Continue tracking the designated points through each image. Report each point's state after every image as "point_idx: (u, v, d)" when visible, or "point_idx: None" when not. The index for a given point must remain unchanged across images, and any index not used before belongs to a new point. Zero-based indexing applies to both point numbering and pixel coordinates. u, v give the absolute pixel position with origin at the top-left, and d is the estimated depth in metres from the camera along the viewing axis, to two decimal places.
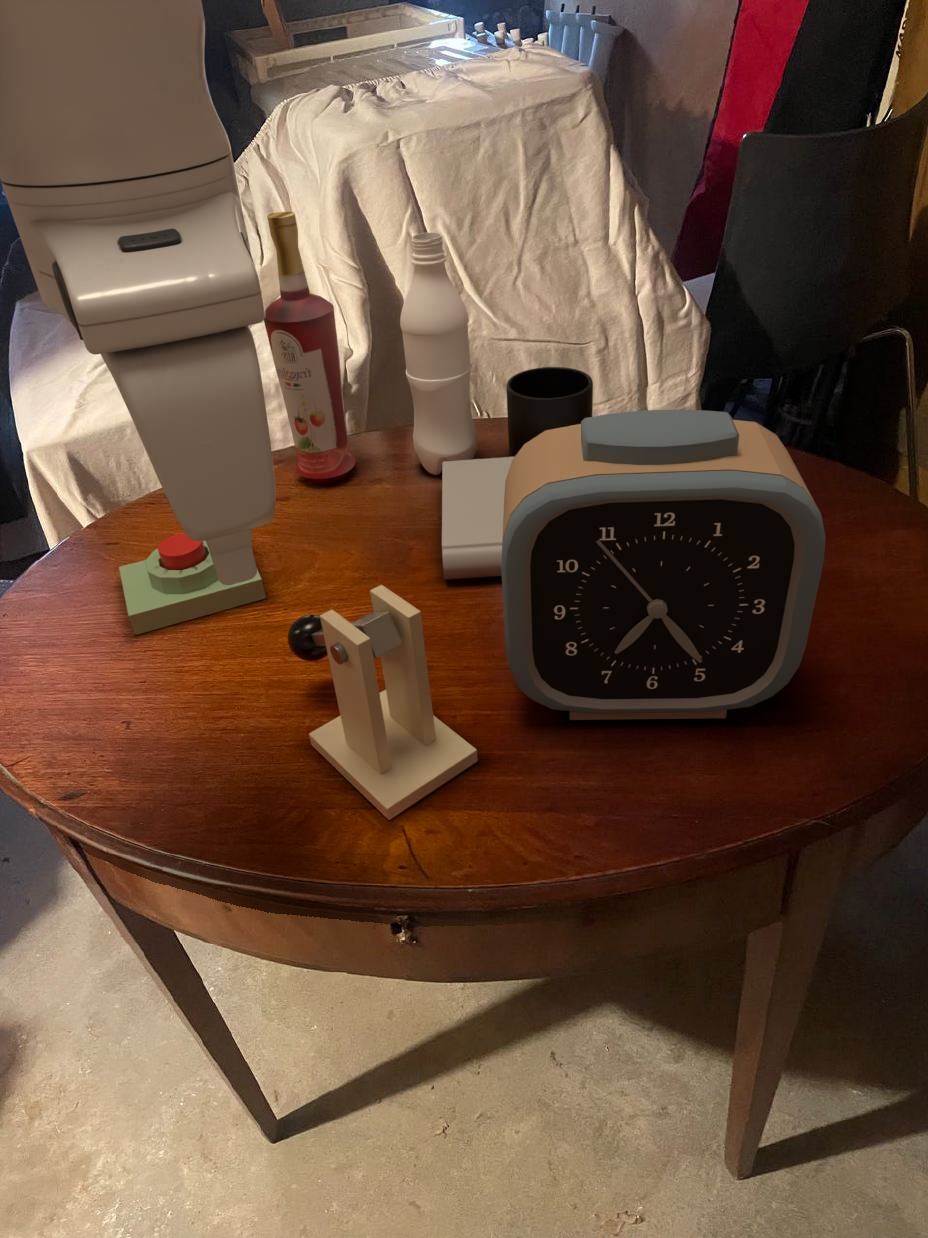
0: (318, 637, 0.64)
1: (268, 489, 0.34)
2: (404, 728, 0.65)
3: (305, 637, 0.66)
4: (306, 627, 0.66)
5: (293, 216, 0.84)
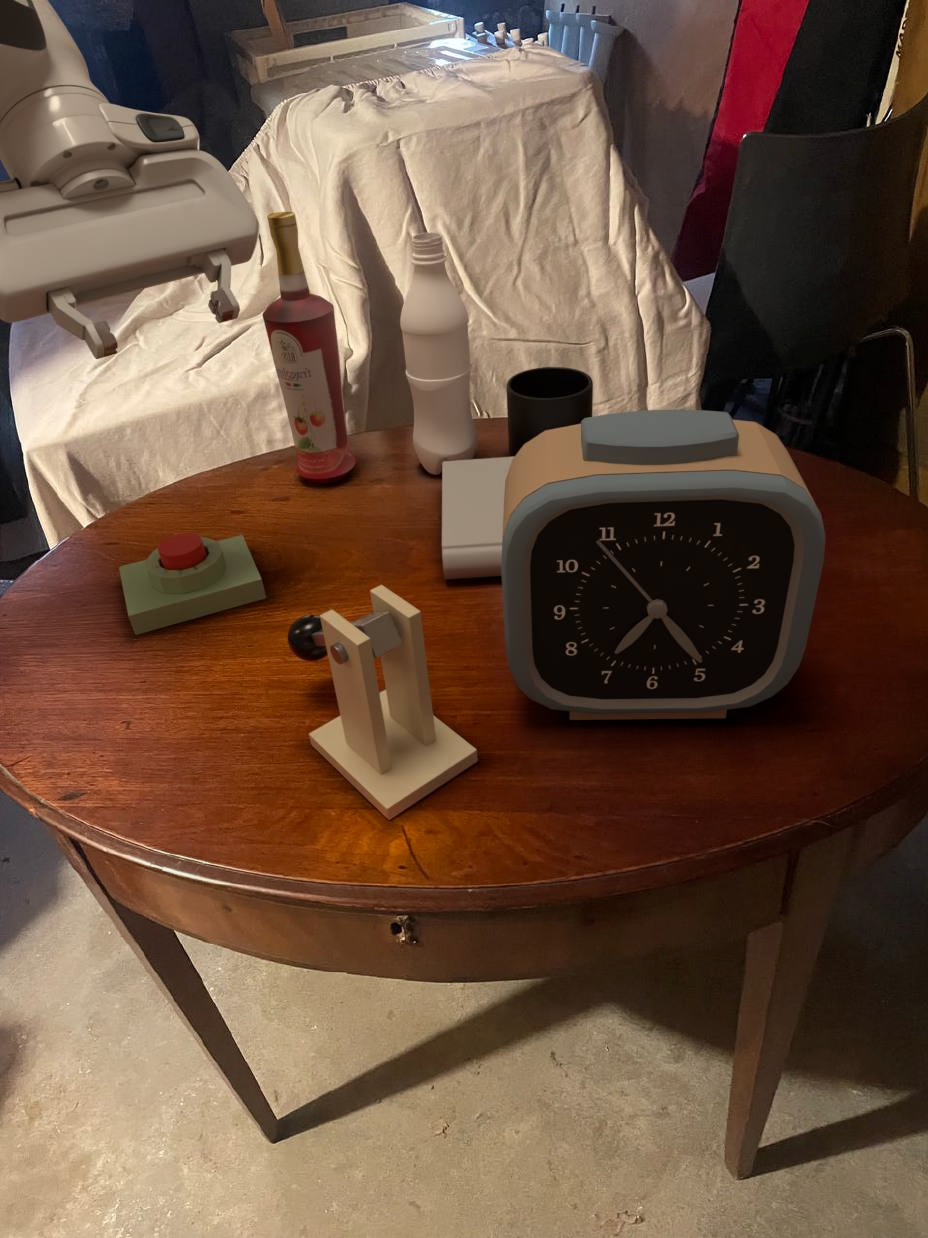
0: (318, 637, 0.64)
1: None
2: (404, 728, 0.65)
3: (305, 637, 0.66)
4: (306, 627, 0.66)
5: (293, 216, 0.84)
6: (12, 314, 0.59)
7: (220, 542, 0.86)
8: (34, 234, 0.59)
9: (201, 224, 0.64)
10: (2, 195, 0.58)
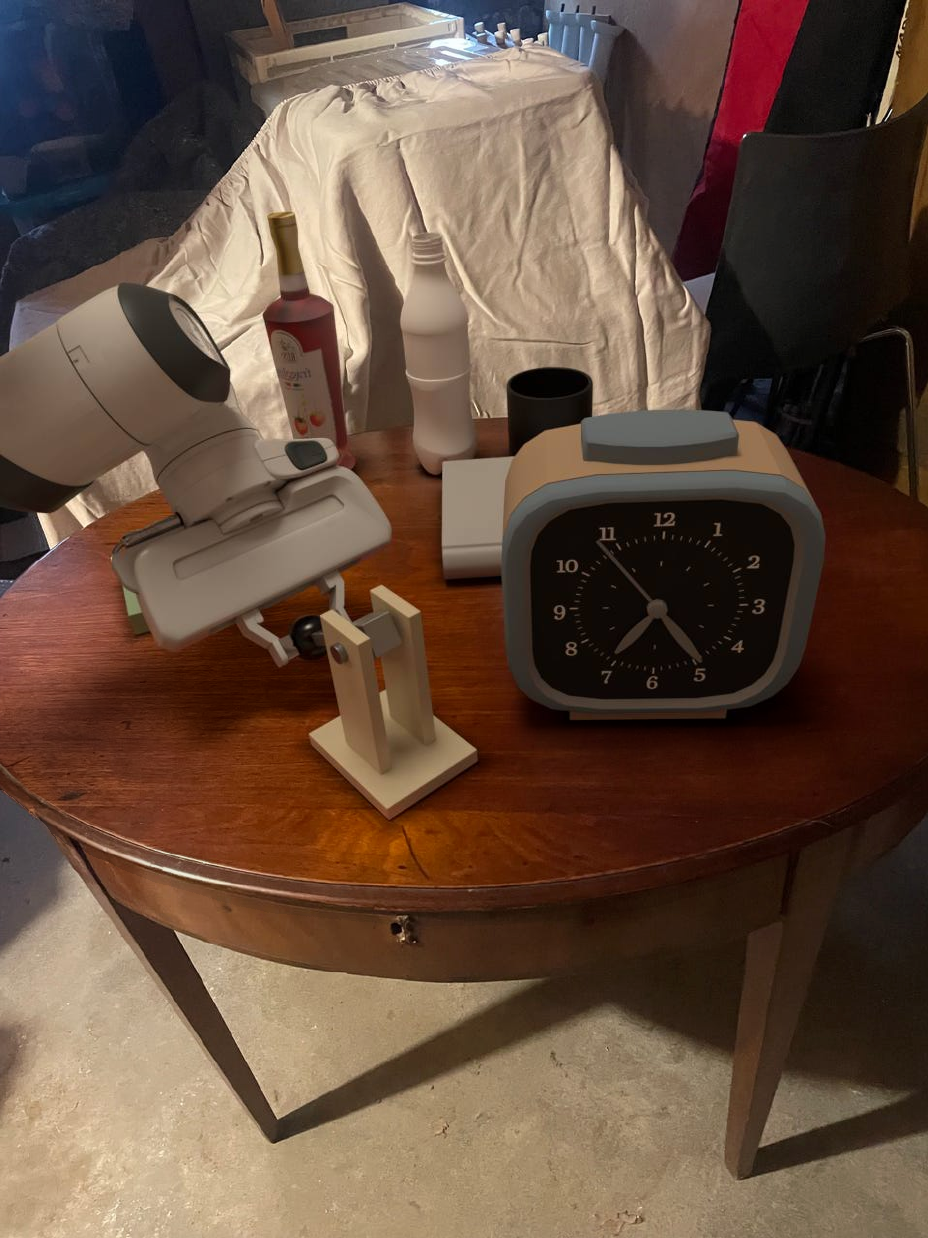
0: (318, 637, 0.64)
1: None
2: (404, 728, 0.65)
3: (305, 637, 0.66)
4: (306, 627, 0.66)
5: (293, 216, 0.84)
6: (179, 648, 0.63)
7: None
8: (200, 574, 0.63)
9: (343, 539, 0.69)
10: (170, 540, 0.63)
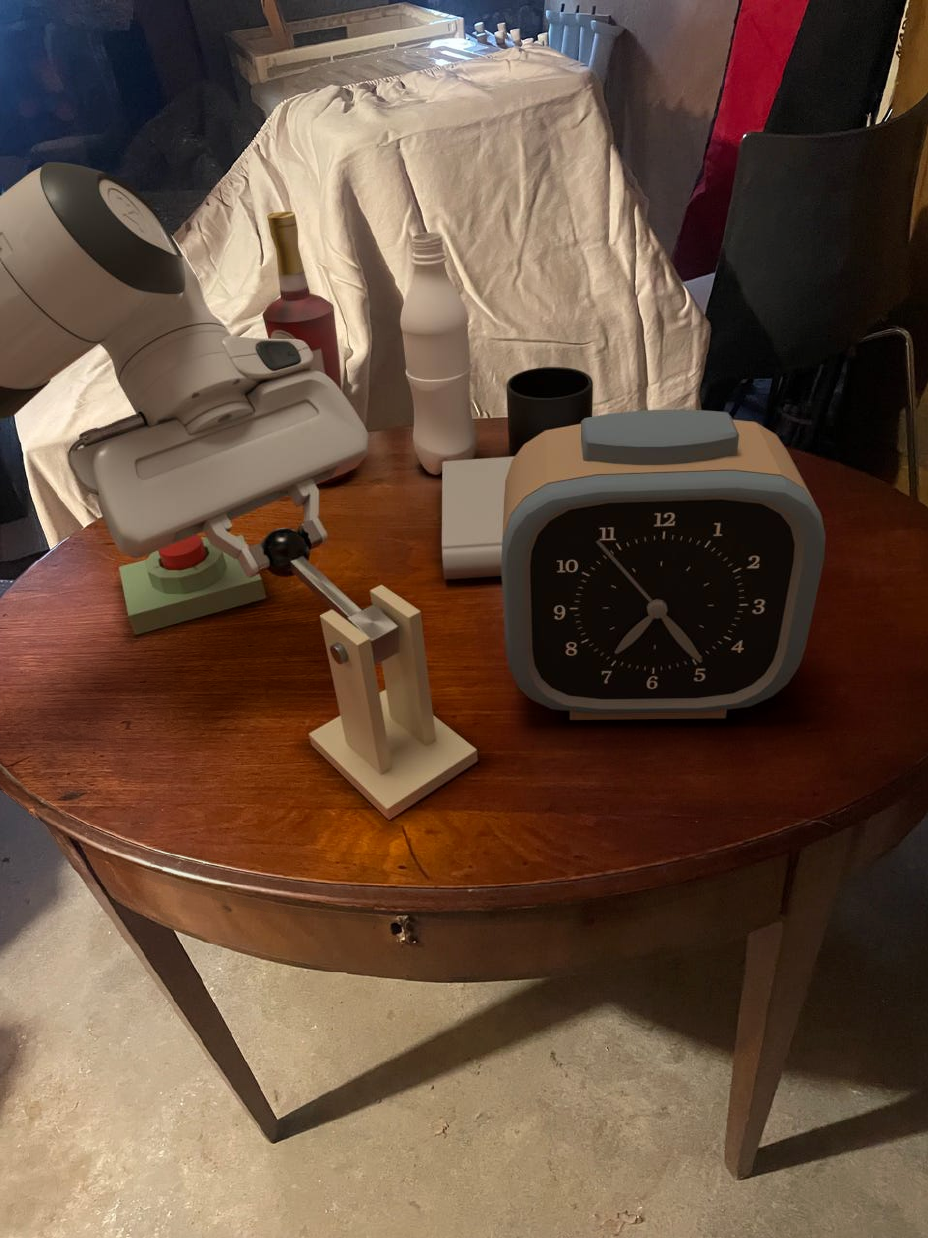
0: (299, 572, 0.62)
1: None
2: (404, 728, 0.65)
3: (283, 562, 0.62)
4: (287, 552, 0.62)
5: (293, 216, 0.84)
6: (141, 553, 0.60)
7: None
8: (164, 475, 0.60)
9: (317, 446, 0.65)
10: (132, 437, 0.59)
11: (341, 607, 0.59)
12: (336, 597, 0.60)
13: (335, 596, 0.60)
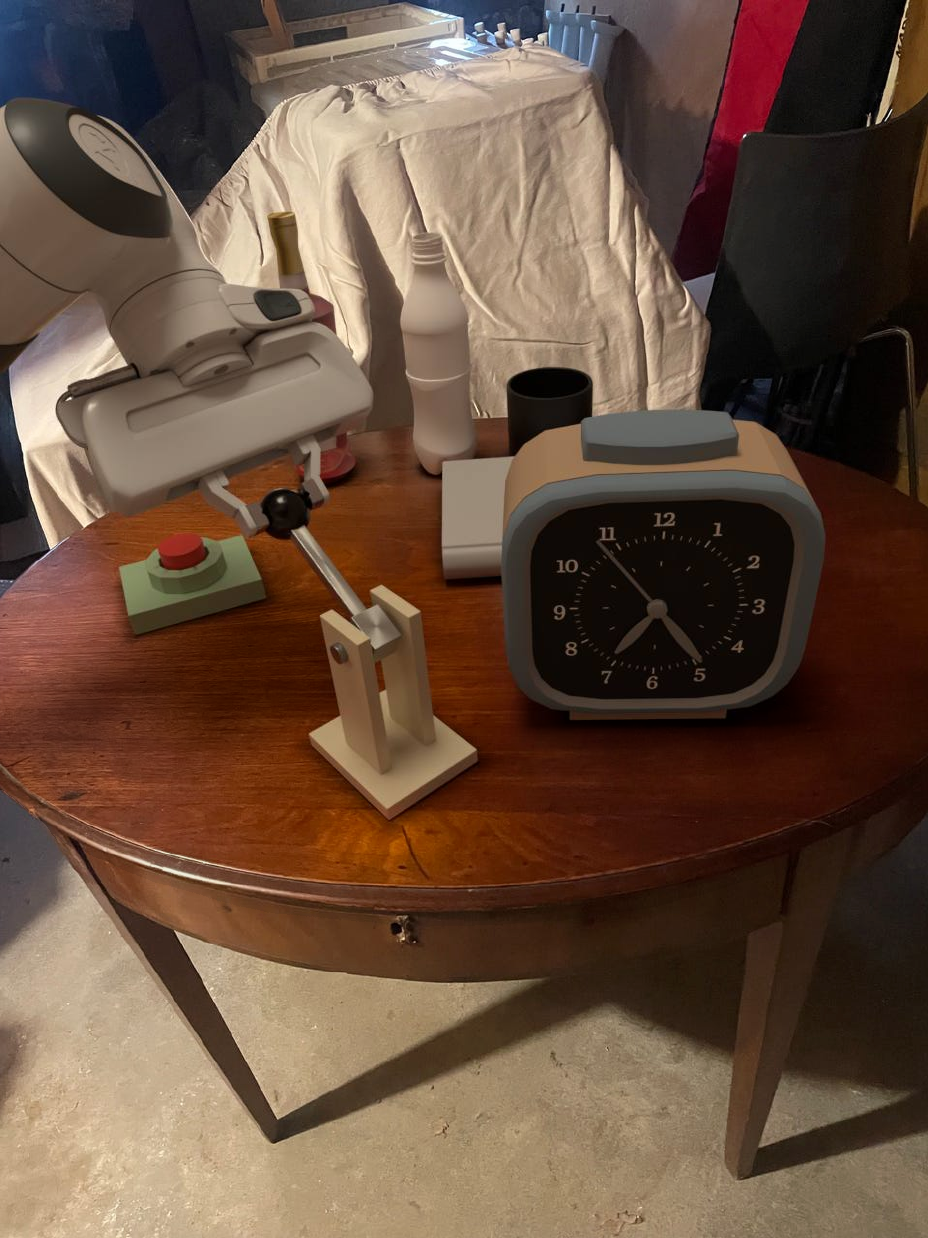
0: (300, 545, 0.60)
1: None
2: (404, 728, 0.65)
3: (283, 530, 0.60)
4: (290, 521, 0.59)
5: (293, 216, 0.84)
6: (133, 511, 0.57)
7: (220, 542, 0.86)
8: (156, 428, 0.56)
9: (319, 401, 0.62)
10: (123, 388, 0.56)
11: (343, 598, 0.58)
12: (338, 585, 0.59)
13: (337, 583, 0.59)
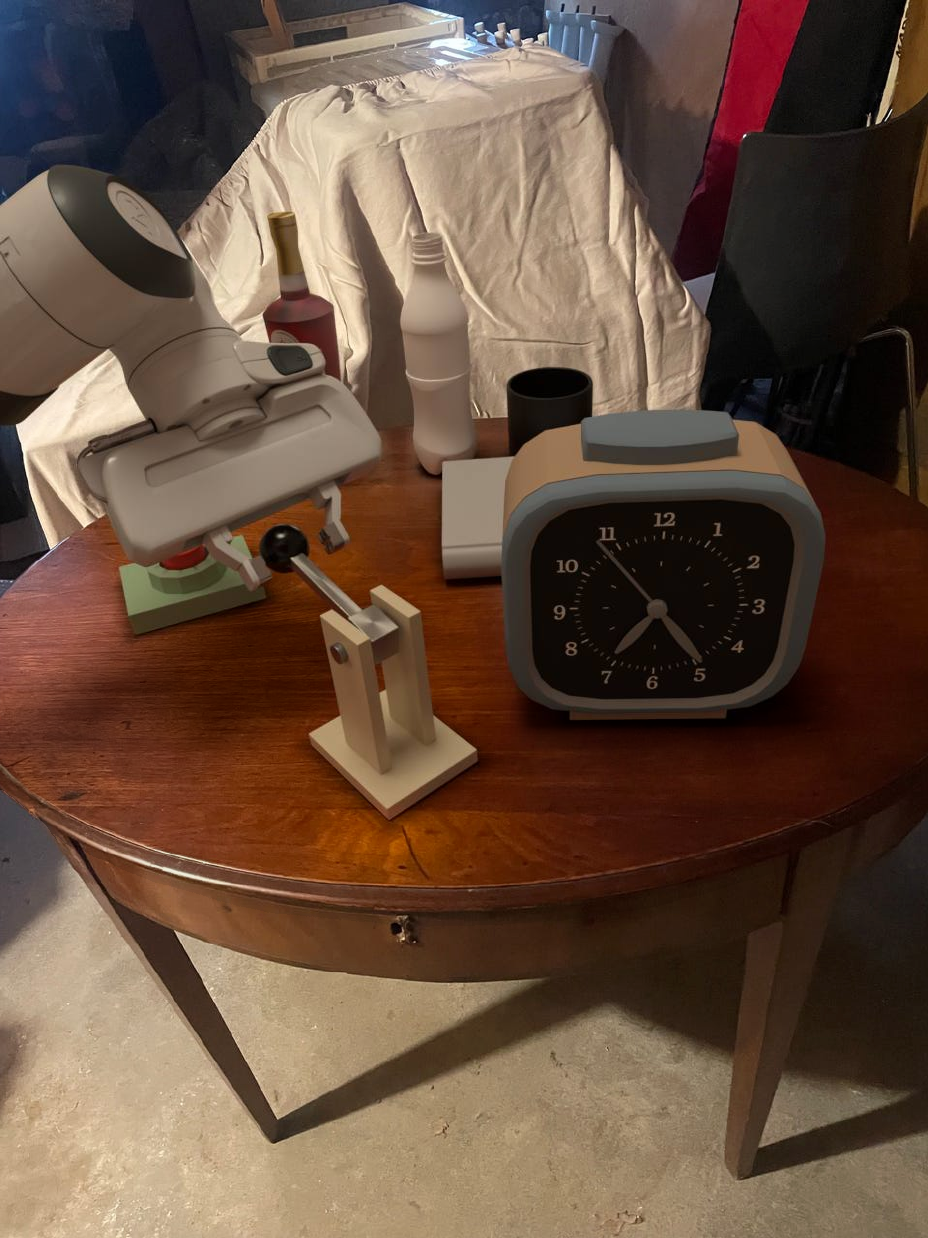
0: (299, 570, 0.62)
1: None
2: (404, 728, 0.65)
3: (283, 559, 0.62)
4: (287, 549, 0.62)
5: (293, 216, 0.84)
6: (151, 562, 0.59)
7: None
8: (173, 482, 0.58)
9: (329, 452, 0.64)
10: (142, 444, 0.58)
11: (341, 606, 0.59)
12: (336, 596, 0.60)
13: (335, 595, 0.60)
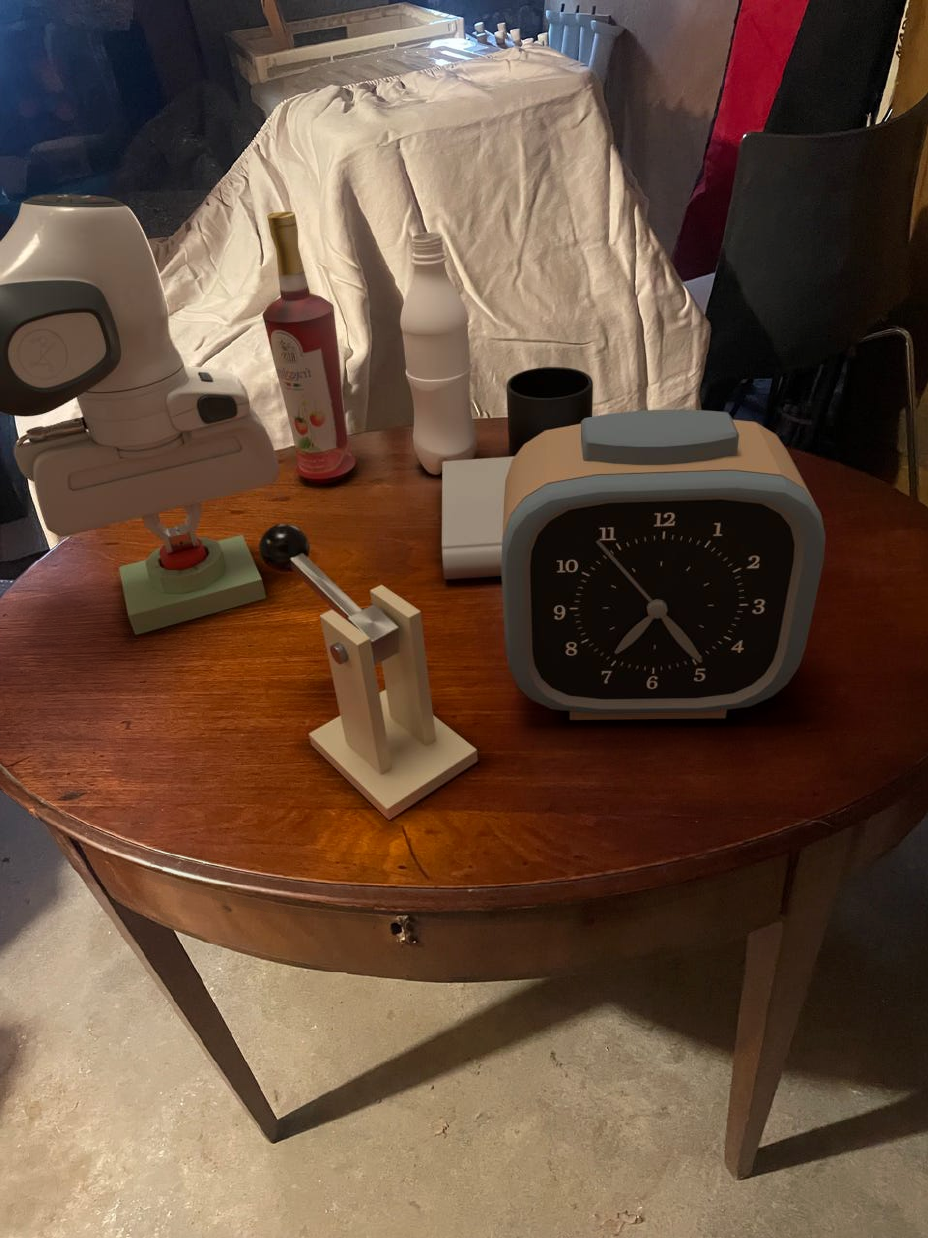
0: (299, 570, 0.62)
1: None
2: (404, 728, 0.65)
3: (283, 559, 0.62)
4: (287, 549, 0.62)
5: (293, 216, 0.84)
6: None
7: (220, 542, 0.86)
8: (90, 488, 0.73)
9: (230, 478, 0.77)
10: (70, 455, 0.71)
11: (341, 606, 0.59)
12: (336, 596, 0.60)
13: (335, 595, 0.60)
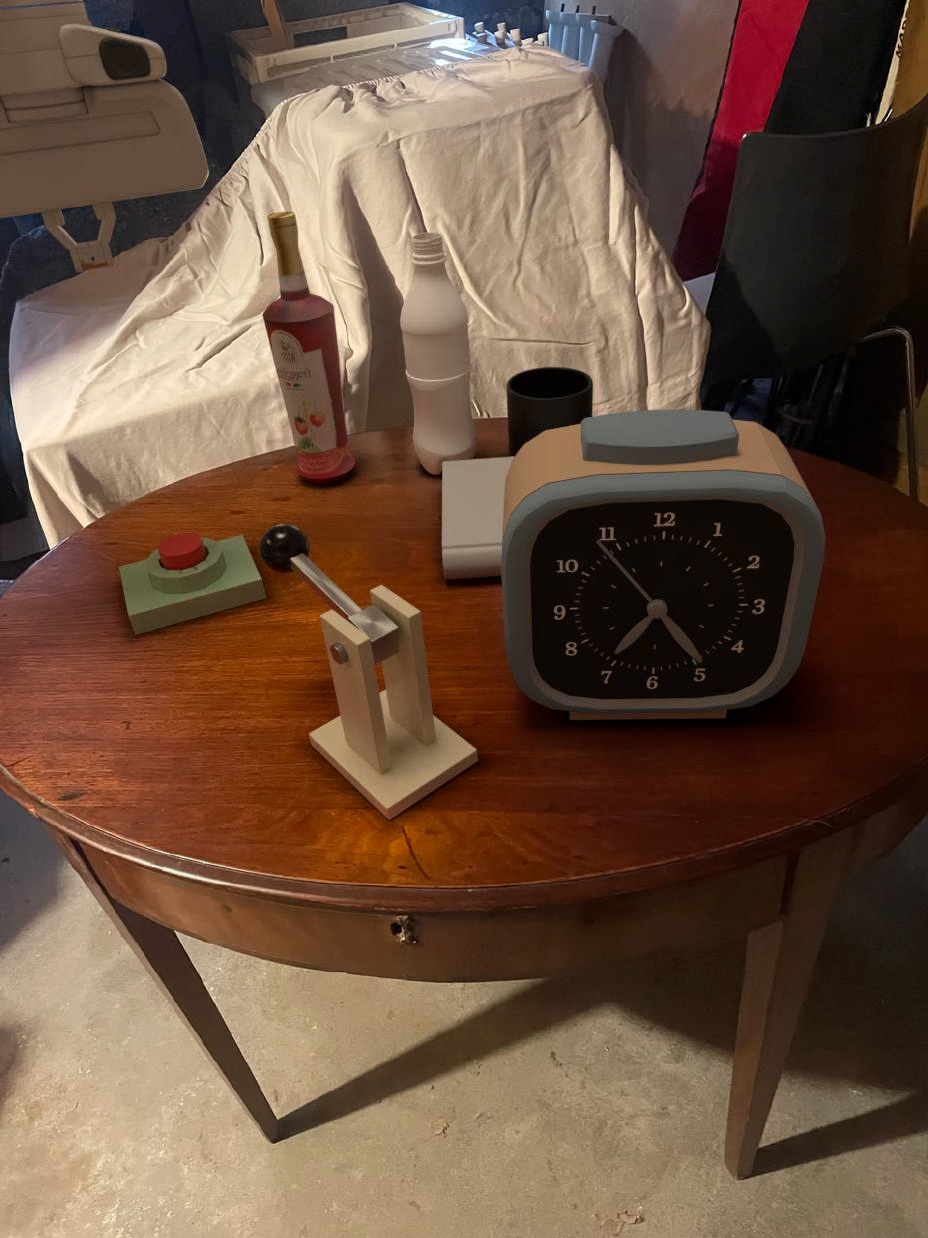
0: (299, 570, 0.62)
1: None
2: (404, 728, 0.65)
3: (283, 559, 0.62)
4: (287, 549, 0.62)
5: (293, 216, 0.84)
6: None
7: (220, 542, 0.86)
8: None
9: (147, 170, 0.65)
10: None
11: (341, 606, 0.59)
12: (336, 596, 0.60)
13: (335, 595, 0.60)
